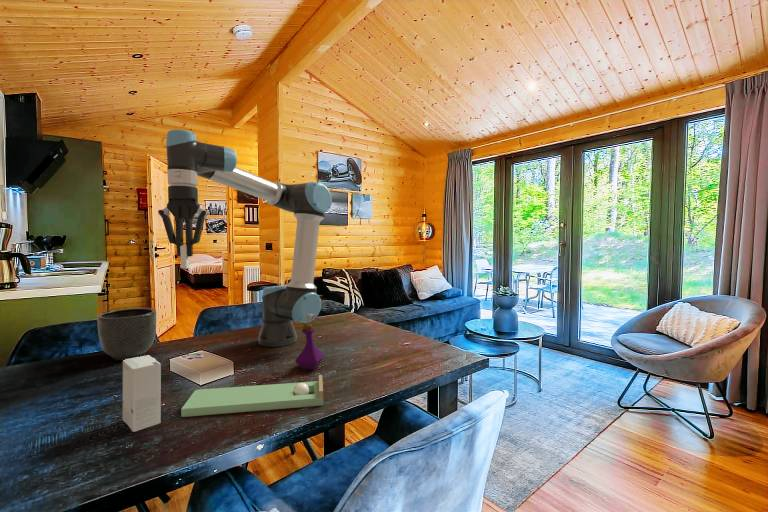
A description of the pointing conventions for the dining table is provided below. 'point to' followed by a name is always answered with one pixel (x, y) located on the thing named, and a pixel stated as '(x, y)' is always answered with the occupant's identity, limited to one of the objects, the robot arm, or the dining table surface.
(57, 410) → the dining table surface
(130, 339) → the planter
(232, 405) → the green
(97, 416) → the dining table surface
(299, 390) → the ball
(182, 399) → the dining table surface
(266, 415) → the dining table surface
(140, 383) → the skincare box
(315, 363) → the perfume bottle
